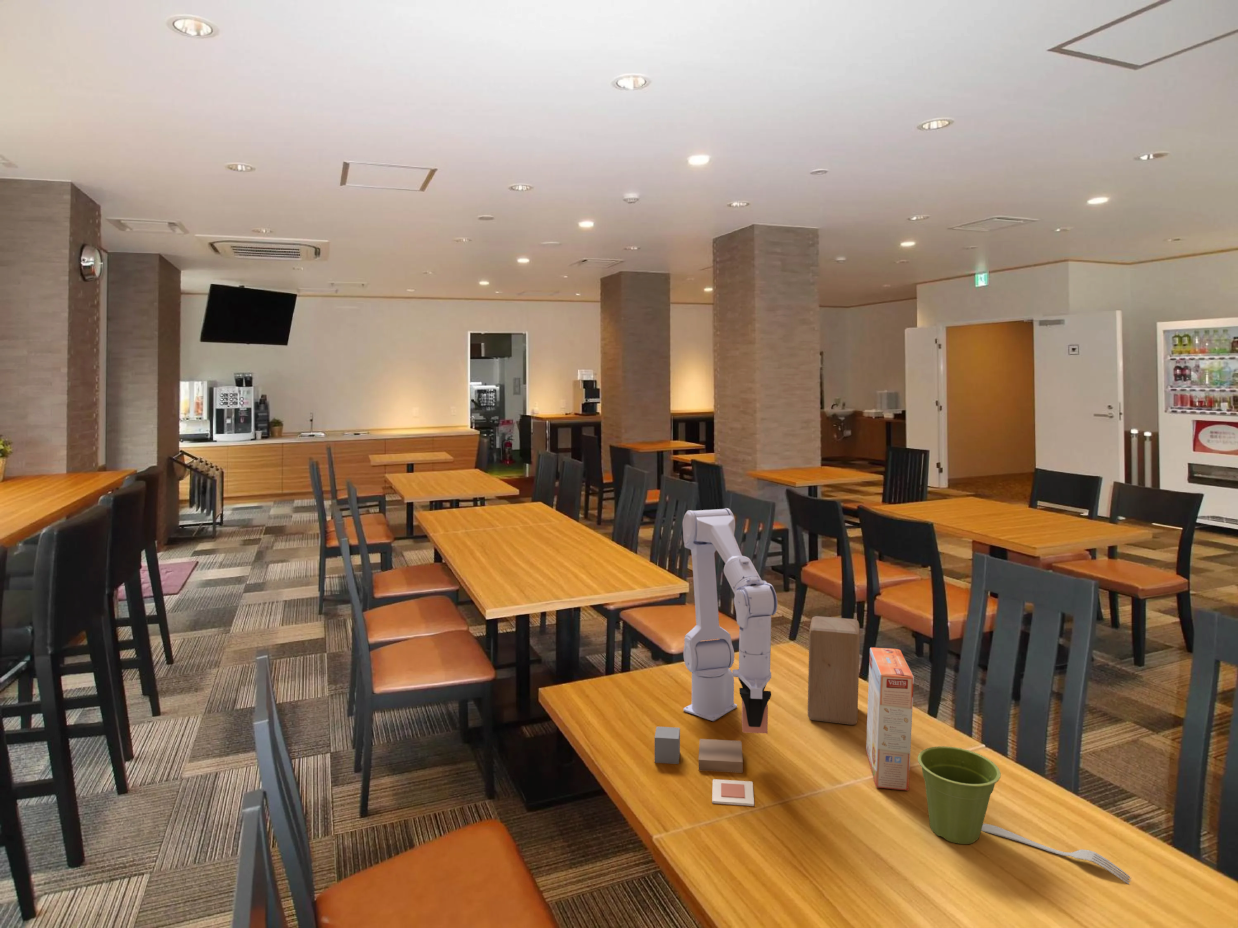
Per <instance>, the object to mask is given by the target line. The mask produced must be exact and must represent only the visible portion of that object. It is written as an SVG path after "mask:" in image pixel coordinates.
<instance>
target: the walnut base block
mask: <svg viewBox="0 0 1238 928" xmlns="http://www.w3.org/2000/svg"><path fill="white" fill-rule="evenodd" d="M742 743H743V742H742V741H741V740H732V739H731V740H728V739H711V738H708V739H707V738H699V743H698V744H699V746H698V771H705V772H706V771H707V772H722V773H723V772H724V773H725V772H726V773H738V774H739V773H740V774H743V773H744V772H743V771H744V770H743V769H744V767H743V763H744V761H743V760H744V759H743V746H742V745H743V744H742Z"/></svg>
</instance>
